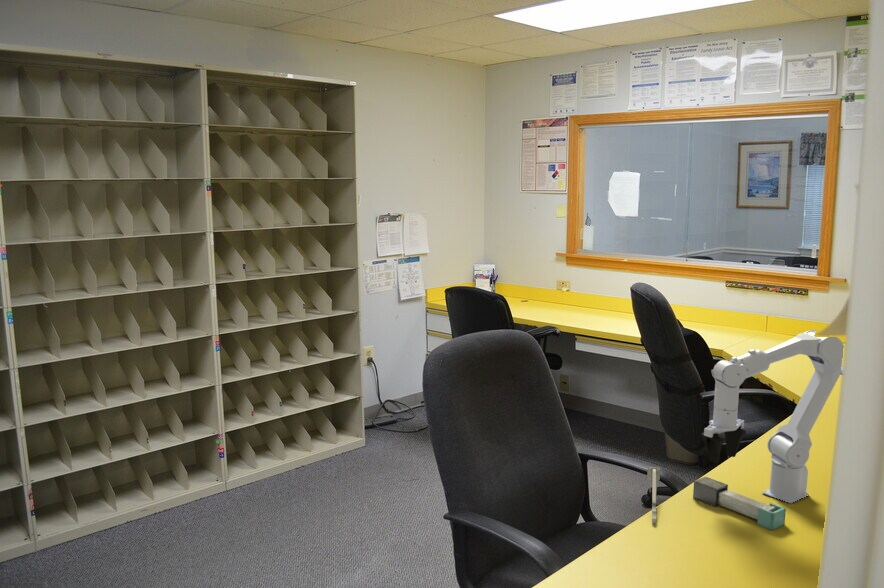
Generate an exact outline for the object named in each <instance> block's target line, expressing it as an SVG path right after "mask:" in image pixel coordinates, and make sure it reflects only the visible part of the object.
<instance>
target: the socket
mask: <svg viewBox="0 0 884 588" xmlns="http://www.w3.org/2000/svg"><path fill="white" fill-rule="evenodd" d="M769 505H770V506H772V507H775V508H778V510H776V511H774V512H770V511H768V510H765V509H763V508H759V509H758V520H757V522H756V523H757V526H761V527H763V528H765V529H768V530H770V531H774V530H776V529H778V528H781V527H783V526H785V525H786V524H785V522H786V511H787V508H786V507H783V506H781V505H778V504H776V503H772V502H770V503H769ZM784 524H785V525H784ZM782 525H783V526H782Z"/></svg>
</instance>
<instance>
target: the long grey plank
mask: <svg viewBox="0 0 884 588" xmlns="http://www.w3.org/2000/svg"><path fill="white" fill-rule="evenodd" d="M717 504H719V506H722V507H724V508H726V509H728V510H732V511H734V512H737V513H739V514H741V515H745V516H747V517H749V518H752V519H755V520H756V521H758V509H759V508H763V509H765V510H768V511H770V512H774V511H776V510H778V508H775V507H772V506H770V504H766V503H764V502H761V501H758V500H756V499H753V498H751V497H748V496H745V495H743V494H740V493H738V492H735V491H732V490H729V489H728V490H727V489H723V490H721V491H718V494H717Z"/></svg>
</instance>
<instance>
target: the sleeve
mask: <svg viewBox="0 0 884 588" xmlns="http://www.w3.org/2000/svg"><path fill="white" fill-rule="evenodd" d="M723 489H727V490H729V484H727V483H723V482H721V481H718V480H716V479H713V478H710V477H707V476H704V477H701V478H698V479H695V480H693V491H692V499H694V498H695V499H694V500H696V499H697V501H699V500H700V502H701V501H702V503H704V504H706V505H709V506H711V505H712V507H713V508H716V506H717V507H719V506H720V505H719V504H717V494H718V491H721V490H723ZM718 505H719V506H718Z"/></svg>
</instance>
